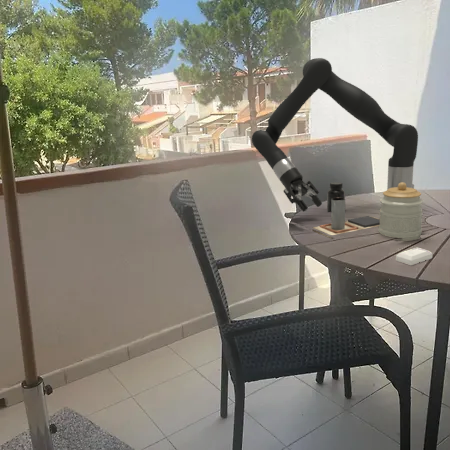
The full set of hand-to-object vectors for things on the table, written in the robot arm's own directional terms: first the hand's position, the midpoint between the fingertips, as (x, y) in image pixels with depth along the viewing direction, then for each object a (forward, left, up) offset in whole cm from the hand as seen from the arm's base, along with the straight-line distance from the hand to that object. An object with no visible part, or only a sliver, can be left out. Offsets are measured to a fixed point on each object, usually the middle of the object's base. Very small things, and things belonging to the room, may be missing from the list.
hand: (313, 207), depth 155 cm
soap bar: (-4, +43, -8) cm, 43 cm away
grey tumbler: (-4, +10, -6) cm, 12 cm away
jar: (-17, +24, -7) cm, 31 cm away
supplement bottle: (-19, -12, -7) cm, 23 cm away
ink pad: (-16, +10, -6) cm, 19 cm away
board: (-10, +10, -7) cm, 15 cm away
